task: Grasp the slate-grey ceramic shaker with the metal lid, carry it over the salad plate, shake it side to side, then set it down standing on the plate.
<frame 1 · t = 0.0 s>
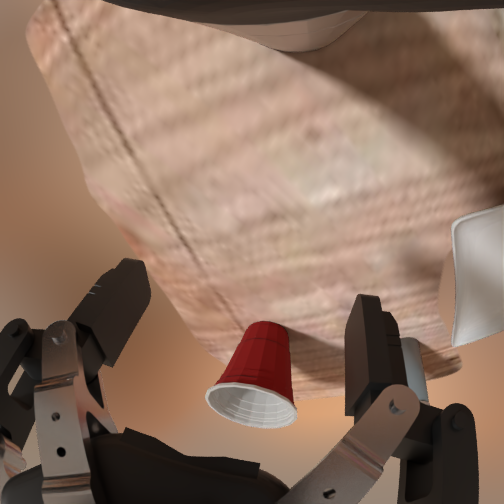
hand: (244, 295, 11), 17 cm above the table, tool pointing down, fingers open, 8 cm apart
shaker: (402, 347, 37), on the table
plastic cup: (266, 332, 39), on the table
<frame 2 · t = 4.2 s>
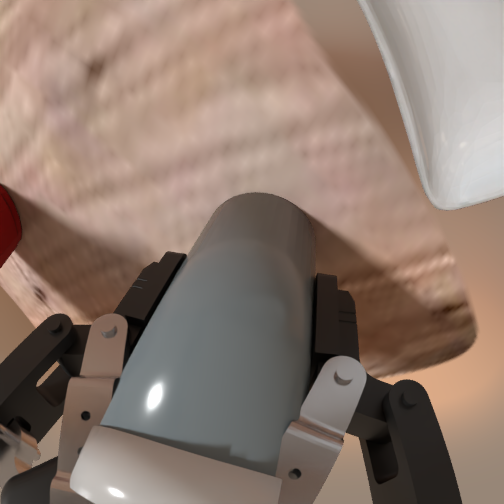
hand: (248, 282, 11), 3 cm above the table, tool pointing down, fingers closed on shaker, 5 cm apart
shaker: (260, 243, 13), on the table, touching gripper
plastic cup: (1, 210, 16), on the table
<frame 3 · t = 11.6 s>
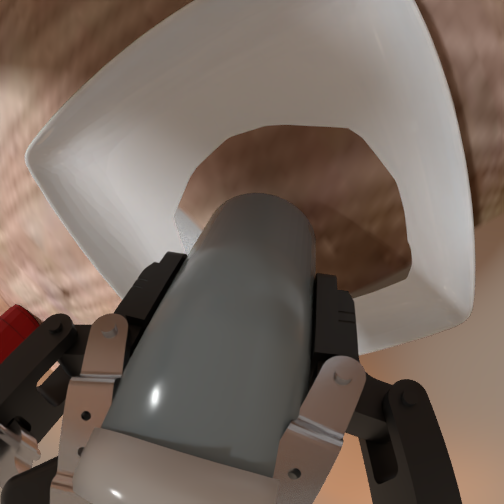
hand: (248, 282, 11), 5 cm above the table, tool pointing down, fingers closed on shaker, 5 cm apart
shaker: (260, 244, 13), point 2 cm above the table, touching gripper, salad plate
salad plate: (262, 205, 16), on the table, touching shaker
plastic cup: (27, 318, 30), on the table
when the fingers open (5 cm above the table, at t = 11.6 s): shaker stays where it is, resting on salad plate.
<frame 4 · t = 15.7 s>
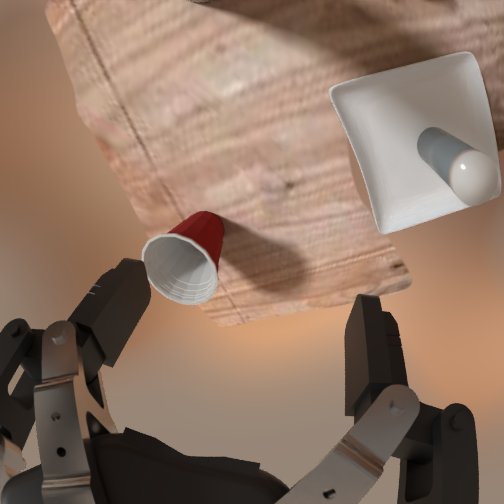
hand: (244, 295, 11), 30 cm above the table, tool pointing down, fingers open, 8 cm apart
shaker: (434, 146, 29), point 3 cm above the table, touching salad plate
salad plate: (423, 138, 32), on the table, touching shaker
plastic cup: (205, 225, 46), on the table
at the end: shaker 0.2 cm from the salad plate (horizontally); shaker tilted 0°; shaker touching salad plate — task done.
